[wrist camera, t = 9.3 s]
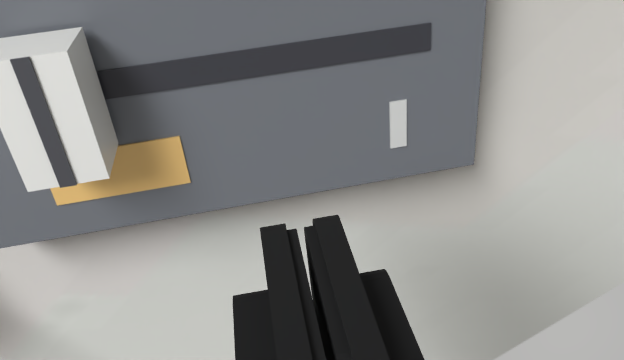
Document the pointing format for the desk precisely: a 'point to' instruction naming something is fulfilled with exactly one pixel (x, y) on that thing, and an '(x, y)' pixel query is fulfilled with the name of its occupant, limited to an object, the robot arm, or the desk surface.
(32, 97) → the fader
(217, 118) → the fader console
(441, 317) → the desk surface
